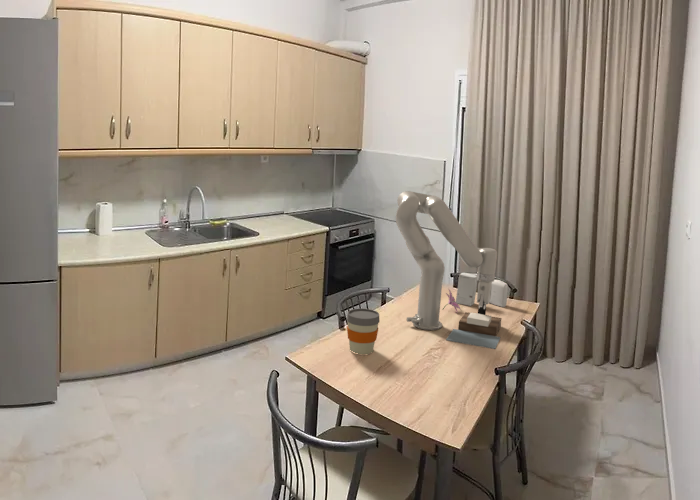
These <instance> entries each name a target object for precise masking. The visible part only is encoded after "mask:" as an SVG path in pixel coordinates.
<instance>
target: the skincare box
mask: <svg viewBox="0 0 700 500" xmlns="http://www.w3.org/2000/svg"><path fill="white" fill-rule="evenodd" d="M478 282H479V281H478V280H477V274H473V273H469V272H468V273H467V272H461V273H459V276H458V282H457V289H456V297H455V300H456V303H457V304H458V305H464V306H468V307H472V306H473V305H475V300H476V293H477V289H478Z"/></svg>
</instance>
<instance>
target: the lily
mask: <svg viewBox="0 0 700 500" xmlns="http://www.w3.org/2000/svg"><path fill="white" fill-rule="evenodd" d="M447 289H448V292H449V294H448V293H447V292H445V295H446V296H447V297H448V303H447V304H445V305H444V307H443V308H442V310H444V309H445V307H446V306H447V305H451V306H452V307H454V310H455V311H456V314H458V309H459V310H460V311H461V307H460V306H459V305H460V304H458V303H456V298H455V297H454V296H453V294H452V291H451V290H450V287H448V288H447Z"/></svg>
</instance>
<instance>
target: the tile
mask: <svg viewBox="0 0 700 500" xmlns="http://www.w3.org/2000/svg"><path fill="white" fill-rule="evenodd" d="M469 313H470V314H469V316H468V317H467V323H469V324H475V325H481V326H486V327H488V326H489V324H490V322H491V317H493V316H492V315H489V314H486V315H483V314H478V312H477V313H476V312H469Z"/></svg>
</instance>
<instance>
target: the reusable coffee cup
mask: <svg viewBox="0 0 700 500" xmlns="http://www.w3.org/2000/svg"><path fill="white" fill-rule="evenodd" d="M346 321H347V326H346V331H347V339H348V343H349V344H348V345H349V351H350V350H351V351H353V352H355V353H358V354H368V355H370V354H369V353H371V352H372V353H374V347H375V344H376V342H375V341H377V339H378V334H379V327H378V326H379V324H380V312H378V311H377V310H374V309H371V308H353V309H350V310H349V311H347V317H346ZM351 351H350V352H351ZM372 353H371V354H372ZM358 354H357V355H358Z"/></svg>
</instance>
